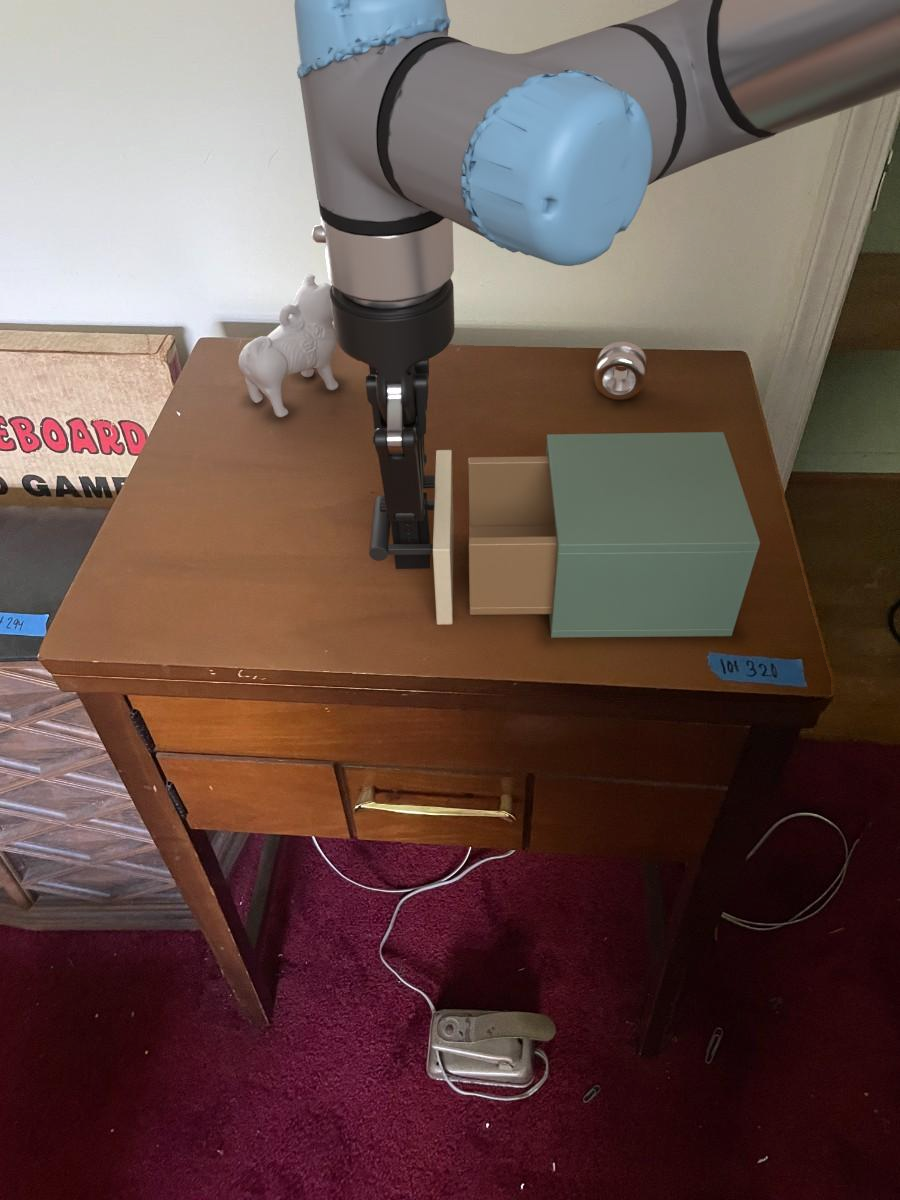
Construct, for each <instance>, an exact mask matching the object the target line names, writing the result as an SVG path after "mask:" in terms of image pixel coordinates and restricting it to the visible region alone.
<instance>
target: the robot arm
mask: <svg viewBox="0 0 900 1200" xmlns="http://www.w3.org/2000/svg"><path fill="white" fill-rule="evenodd" d="M293 7H294V17H295V28H296V40H297V52H298V60H299V62H298V63H299V64H298V67H297V69H296V70H297V71H296V76H297V79H299V84H300V91H301V98H302V104H303V105H302V106H303V108H304V109H303V111H304V117H305V124H306V130H307V138H308V144H309V152H310V158H311V165H312V171H313V180H314V185H315V193H316V199H317V201H318V208H319V214H320V224H317V225H314V226H313V228H312V231H311V236H312V240H313V241H314V242H315V243H317V244H325V245H326V246H325V250H324V253H325V262H326V269H327V274H328V275H327V276H328V280H329V282H330V284H331V288H330V300H331V308H332V315H333V322H332V324H333V329H334V330H335V337H336V344H337V345H338V347H339V348H340V349H341V350H342V351H343V353H345V354H346V355H347V356H348V357H350V358H352V359H354V360H356V361H358V362H362V363H364V364H366V365H367V366H368V369H369V370H368V371H369V374H366V375H365V389H366V390H365V391H366V399H367V402H368V403H369V404H370V405H371V408H372V419H373V429H374V432H373V435H372V443H373V444H374V448H375V452H376V454H377V457H378V462H379V463H378V464H379V469H380V476H381V482H382V488H383V495H384V496H385V498H381V501H380V512H386V516H387V518H388V521H391V525H390V527H391V535H392V544H431V540H430V524H429V510H428V504H427V500H428V492H427V491H424V489H435V474H427V475H426V472H425V467H426V464H427V462H428V456H427V454H426V445H425V434H426V433H427V410H428V400H429V377H430V359H432V358H434V357H436V356H437V355H438V354H440V353H441V352H443V351H444V350H446V348H447V347H448V346H449V344H450V343H451V341H452V340H453V337H454V336H455V335H454V334H455V328H456V327H455V292H454V283H453V280H452V275H453V274H454V271H455V267H454V265H455V262H454V261H455V259H454V258H455V257H454V254H455V253H454V223H455V224H457V225H459V226H462V227H463V228H465V229H467V230H469V231H470V232H472V233H475V234H477V235H479V236H481V237H483V238H485V239H486V240H488V241H489V242H491V243H493V244H494V245H496V246H497V247H498V248H501V249H505V250H507V251H509V252H511V253H514V254H515V253H521V254H523V255H525V256H530V257H533V258H536V259H539V260H542V261H545V262H547V263H550V264H553V265H557V266H563V267H574V266H580V265H584V264H587V263H589V262H591V261H594V260H596V259H597V258H599V257H601V256H602V255H603V254H605V253H607V251H609V250H610V248H611V247H612V244H613V242H614V240H615V238H616V237H615V236H617V234H619V233H622V232H625V231H626V230H627V229H628V228H629V226H630V225H631V223H632V222H633V220H634V219H635V217H636V215H637V213H638V211H639V209H640V207H641V205H642V203H643V200H644V197H645V196H646V192H647V189H648V187H649V186H650V185H652V184H654V183H655V182H656V181H657V182H658V181H659V180H661V179H664V178H667V177H668V176H671V175H673V174H676V173H678V172H681V171H684V170H685V169H688V168H691V167H693V166H695V165H698V164H700V163H703V162H705V161H708V160H710V159H713V158H715V157H719V156H721V155H724V154H727V153H729V152H732V151H735V150H739V149H741V148H744V147H747V146H750V145H752V144H756V143H758V142H761V141H764V140H767V139H770V138H772V137H774V136H776V135H778V134H781V133H782V132H783V133H784V132H786V131H788V130H791V129H794V128H797V127H800V126H803V125H806V124H809V123H811V122H814V121H818V120H820V119H823V118H826V117H828V116H832V115H834V114H837V113H840V112H843V111H846V110H849V109H851V108H854V107H857V106H860V105H863V104H866V103H868V102H873V101H874V100H877V99H880V98H883V97H886V96H888V95H891V94H894V93H897V92H900V0H677V1H675V2H673V3H671V4H668V5H667V6H664V7H662V8H658V9H656V10H654V11H652V12H649V13H646V14H644V15H641V16H639V17H635V18H632V19H630V20H627V21H623V22H620V23H616V24H615V23H614V24H612V25H609V26H605V27H602V28H599V29H595V30H592V31H590V32H587V33H583V34H581V35H577V36H574V37H570V38H568V39H564V40H562V41H559V42H555V43H552V44H549V45H545V46H543V47H540V48H537V49H533V50H530V51H527V52H523V53H506V52H501V51H497V50H493V49H489V48H484V47H480V46H476V45H472V44H470V43H468V42H465V41H463V40H461V39H458V38H455V37H451V36H449V30H450V29H449V28H450V25H451V21H452V20H451V18H450V17H449V15H448V7H447V1H446V0H294V6H293ZM393 556H394V565H395V570H424V569H425V570H429V569H431V558H432V557H431V556H432V555H393Z"/></svg>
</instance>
